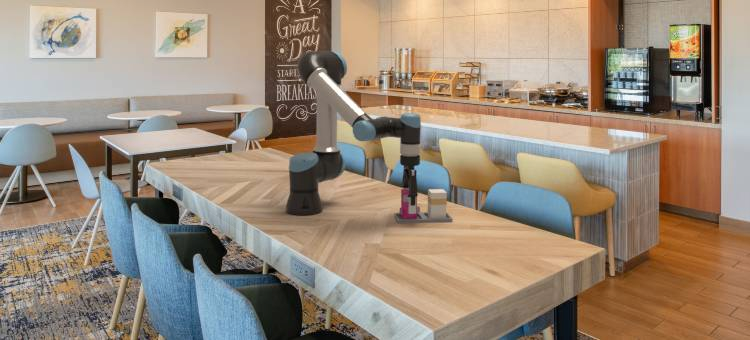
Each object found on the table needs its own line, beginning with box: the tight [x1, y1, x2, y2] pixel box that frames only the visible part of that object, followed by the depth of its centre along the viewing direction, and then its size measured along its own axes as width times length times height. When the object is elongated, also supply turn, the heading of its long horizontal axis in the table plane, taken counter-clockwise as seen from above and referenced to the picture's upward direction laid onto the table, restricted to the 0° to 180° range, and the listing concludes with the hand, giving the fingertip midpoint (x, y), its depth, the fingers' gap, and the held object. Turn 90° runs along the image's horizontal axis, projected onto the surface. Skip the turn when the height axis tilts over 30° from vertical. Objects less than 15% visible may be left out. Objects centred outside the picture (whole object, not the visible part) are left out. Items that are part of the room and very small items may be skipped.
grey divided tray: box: [393, 211, 453, 224], centre depth 225 cm, size 21×10×2 cm, turn 97°
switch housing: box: [399, 206, 421, 213], centre depth 234 cm, size 6×6×3 cm
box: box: [427, 188, 448, 219], centre depth 224 cm, size 6×6×11 cm
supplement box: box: [400, 188, 418, 219], centre depth 223 cm, size 6×6×12 cm
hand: (409, 208), depth 223 cm, fingers open, 13 cm apart
